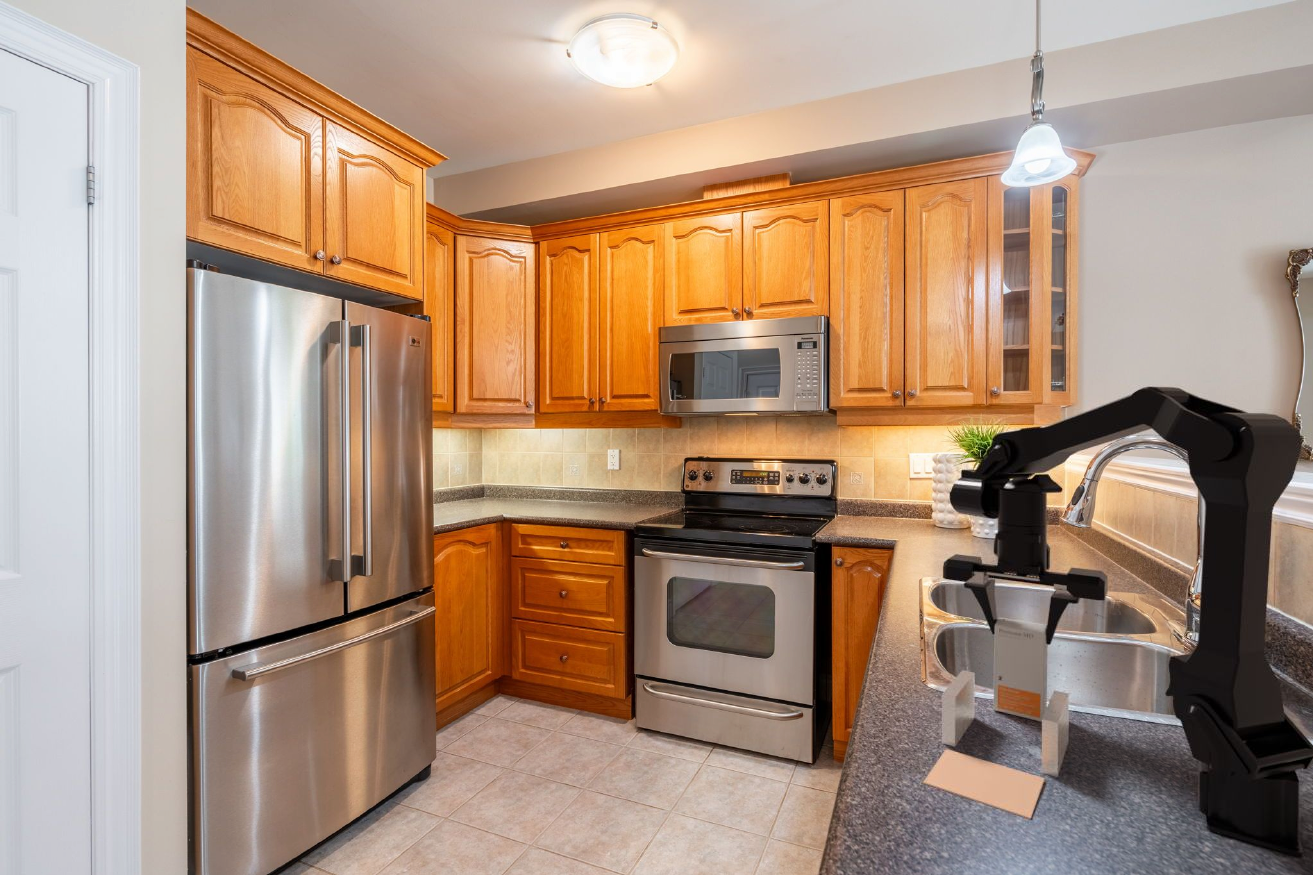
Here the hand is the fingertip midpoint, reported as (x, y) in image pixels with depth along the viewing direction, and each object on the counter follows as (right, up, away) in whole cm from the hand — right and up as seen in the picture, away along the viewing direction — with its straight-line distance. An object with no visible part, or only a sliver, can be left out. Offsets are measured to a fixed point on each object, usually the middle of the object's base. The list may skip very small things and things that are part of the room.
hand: (1021, 638), depth 85 cm
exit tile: (-14, -10, -17) cm, 24 cm away
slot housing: (-7, -10, -8) cm, 15 cm away
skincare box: (0, -10, 0) cm, 10 cm away
